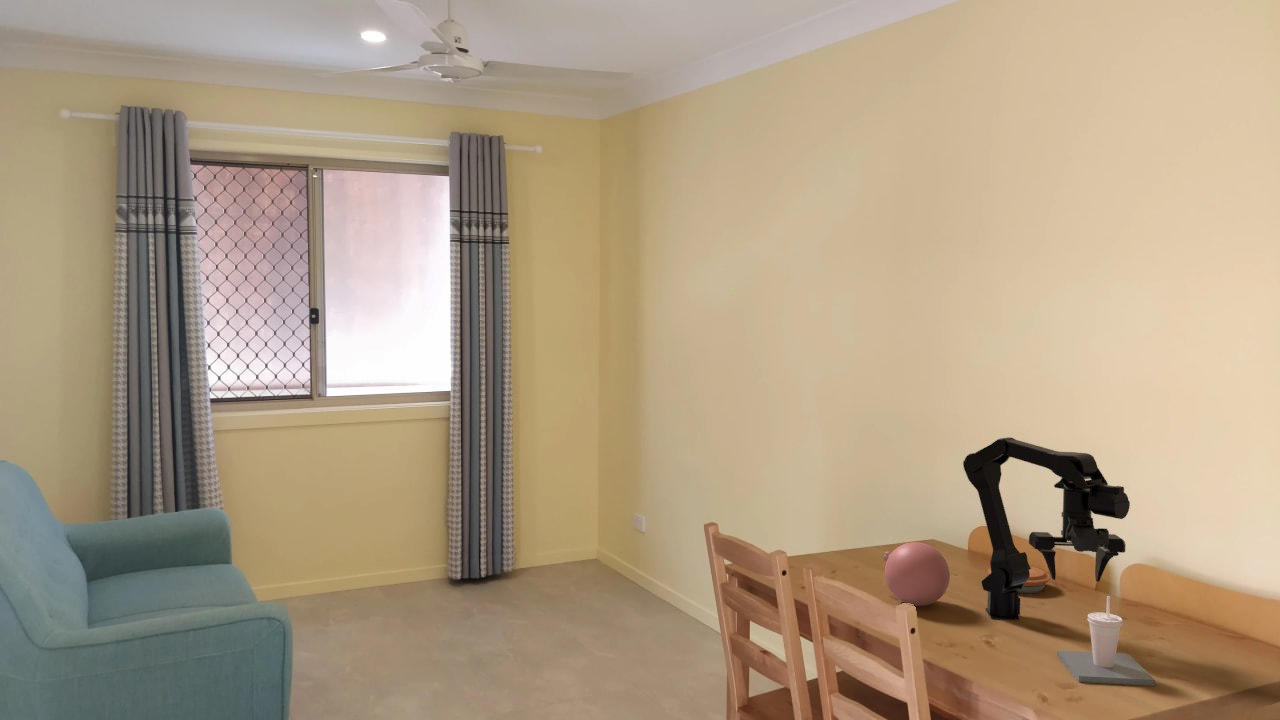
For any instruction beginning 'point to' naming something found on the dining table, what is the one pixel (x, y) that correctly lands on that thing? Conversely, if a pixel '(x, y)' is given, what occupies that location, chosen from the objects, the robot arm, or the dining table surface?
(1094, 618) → the smoothie
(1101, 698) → the dining table surface
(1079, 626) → the dining table surface
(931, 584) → the balloon
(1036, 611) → the dining table surface
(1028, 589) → the pie
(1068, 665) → the slate trivet
